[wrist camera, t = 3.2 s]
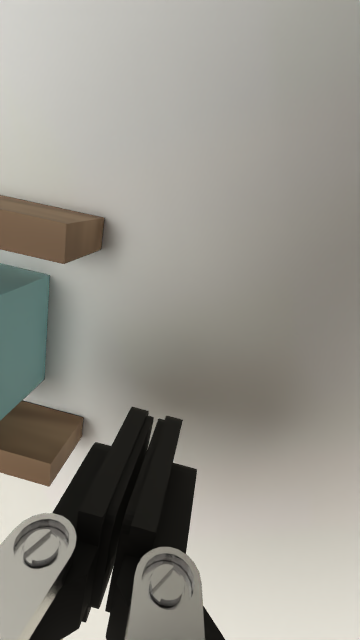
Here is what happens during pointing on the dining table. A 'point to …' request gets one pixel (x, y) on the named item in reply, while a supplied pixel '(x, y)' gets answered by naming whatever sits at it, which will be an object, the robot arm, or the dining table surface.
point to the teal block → (21, 333)
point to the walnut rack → (26, 418)
